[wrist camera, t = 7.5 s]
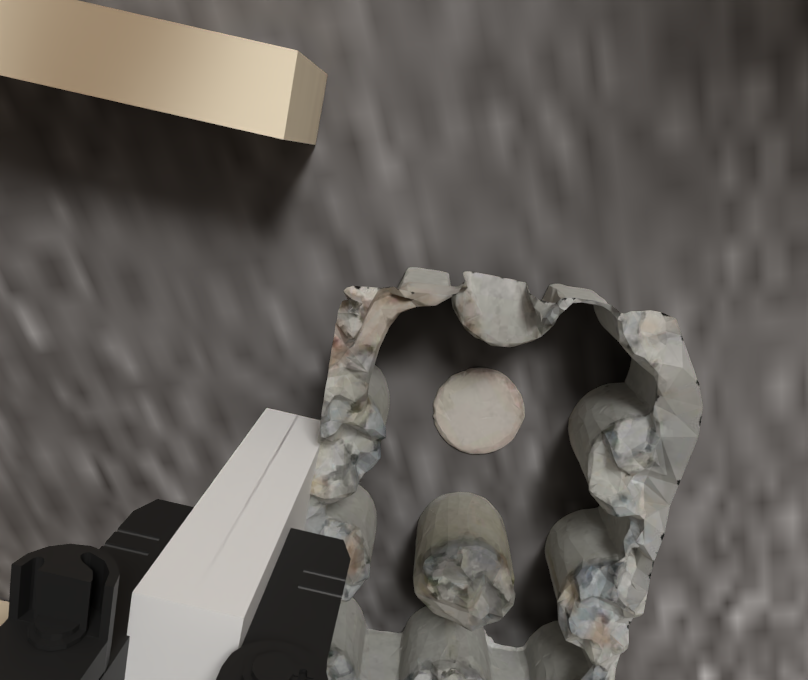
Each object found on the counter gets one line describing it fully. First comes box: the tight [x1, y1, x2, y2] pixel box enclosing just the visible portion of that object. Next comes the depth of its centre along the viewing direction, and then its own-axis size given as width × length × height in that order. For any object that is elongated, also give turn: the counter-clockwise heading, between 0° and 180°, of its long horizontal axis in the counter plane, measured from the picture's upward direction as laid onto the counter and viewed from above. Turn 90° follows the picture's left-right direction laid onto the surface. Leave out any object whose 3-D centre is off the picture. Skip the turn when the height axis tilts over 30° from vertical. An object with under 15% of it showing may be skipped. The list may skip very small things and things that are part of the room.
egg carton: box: [304, 267, 703, 680], centre depth 15 cm, size 11×8×4 cm
